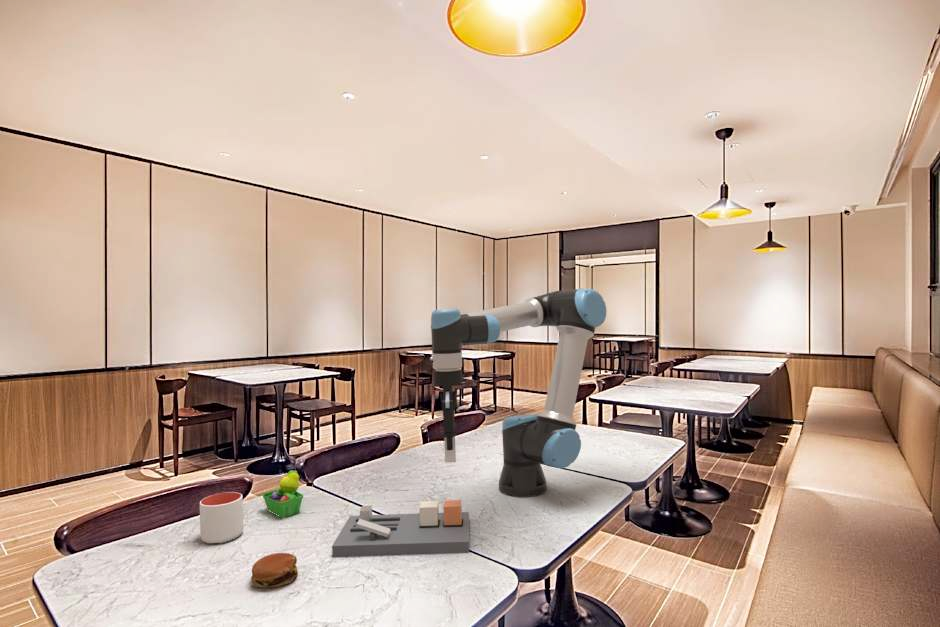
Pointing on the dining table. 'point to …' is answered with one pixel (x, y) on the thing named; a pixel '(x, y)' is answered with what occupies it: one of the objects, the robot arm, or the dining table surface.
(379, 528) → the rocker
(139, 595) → the dining table surface
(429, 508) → the button
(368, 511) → the slider knob
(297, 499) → the fruit basket
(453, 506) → the button
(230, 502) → the cup
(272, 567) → the burger
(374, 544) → the console
